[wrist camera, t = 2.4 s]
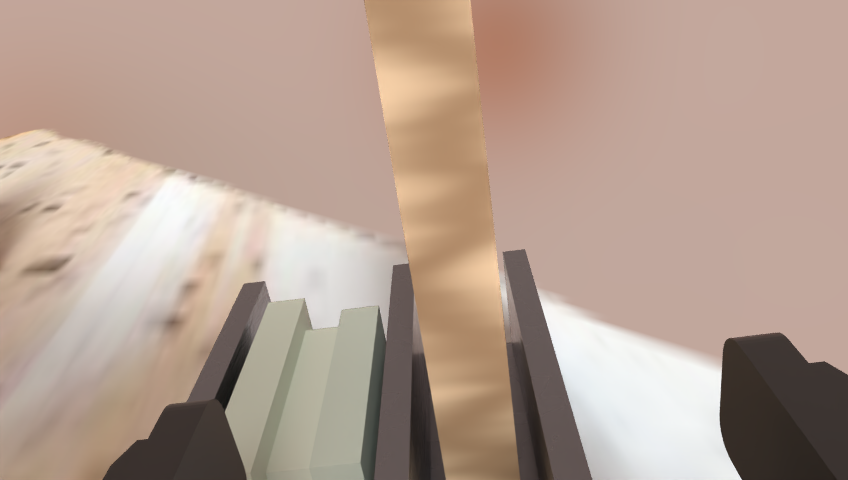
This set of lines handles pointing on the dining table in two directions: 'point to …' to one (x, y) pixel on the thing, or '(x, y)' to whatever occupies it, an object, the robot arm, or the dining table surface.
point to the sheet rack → (410, 389)
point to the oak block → (448, 225)
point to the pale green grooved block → (310, 396)
